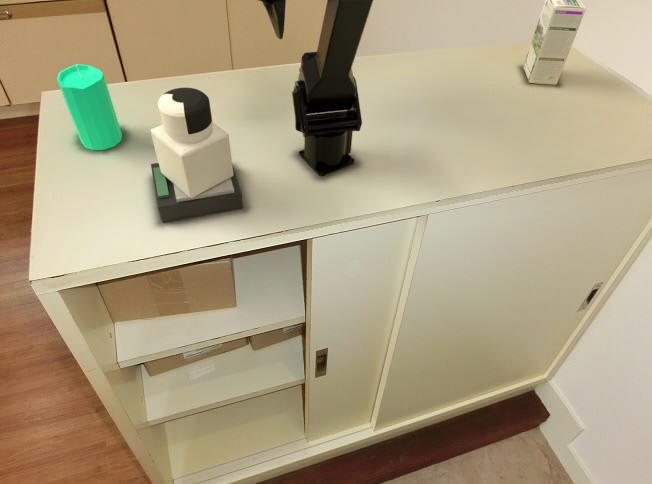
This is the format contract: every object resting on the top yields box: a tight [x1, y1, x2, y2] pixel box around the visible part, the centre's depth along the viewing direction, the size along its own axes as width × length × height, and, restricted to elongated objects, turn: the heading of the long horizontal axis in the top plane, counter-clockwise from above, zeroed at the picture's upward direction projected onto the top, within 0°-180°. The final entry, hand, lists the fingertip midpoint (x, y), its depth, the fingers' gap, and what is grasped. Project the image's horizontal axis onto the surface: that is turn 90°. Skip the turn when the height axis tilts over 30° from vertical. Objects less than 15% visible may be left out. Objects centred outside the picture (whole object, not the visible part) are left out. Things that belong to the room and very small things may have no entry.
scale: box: [150, 162, 244, 223], centre depth 74 cm, size 11×9×3 cm
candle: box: [56, 63, 123, 151], centre depth 77 cm, size 6×6×12 cm
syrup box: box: [522, 0, 587, 86], centre depth 97 cm, size 6×6×14 cm
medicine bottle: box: [150, 87, 234, 198], centre depth 68 cm, size 7×7×12 cm
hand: (305, 31), depth 81 cm, fingers open, 9 cm apart
